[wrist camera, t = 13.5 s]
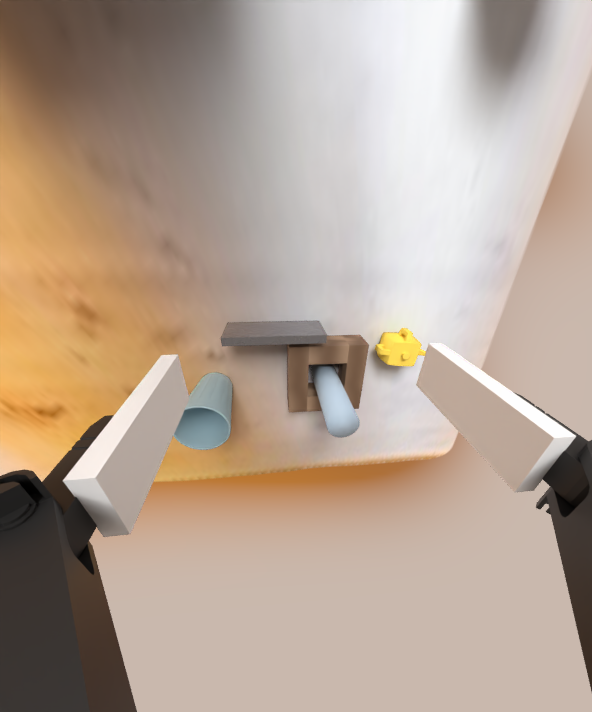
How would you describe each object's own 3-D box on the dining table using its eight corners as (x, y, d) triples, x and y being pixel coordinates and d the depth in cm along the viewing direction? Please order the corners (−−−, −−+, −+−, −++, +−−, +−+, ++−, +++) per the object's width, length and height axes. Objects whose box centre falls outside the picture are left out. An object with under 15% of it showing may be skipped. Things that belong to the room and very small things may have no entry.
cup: (182, 383, 41) (157, 427, 32) (216, 357, 39) (200, 396, 30) (215, 410, 44) (200, 457, 35) (247, 388, 43) (241, 431, 33)
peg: (309, 378, 43) (326, 438, 30) (310, 358, 41) (328, 413, 29) (332, 377, 43) (357, 436, 31) (334, 357, 41) (361, 411, 29)
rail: (228, 330, 37) (221, 346, 32) (227, 322, 37) (220, 337, 31) (318, 327, 39) (326, 343, 33) (318, 320, 38) (326, 334, 33)
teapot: (421, 325, 40) (440, 337, 36) (410, 356, 43) (426, 371, 38) (375, 321, 39) (389, 333, 35) (367, 353, 42) (379, 368, 37)
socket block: (287, 397, 44) (289, 412, 41) (287, 336, 39) (288, 347, 35) (351, 394, 45) (358, 408, 42) (360, 334, 40) (368, 344, 36)
